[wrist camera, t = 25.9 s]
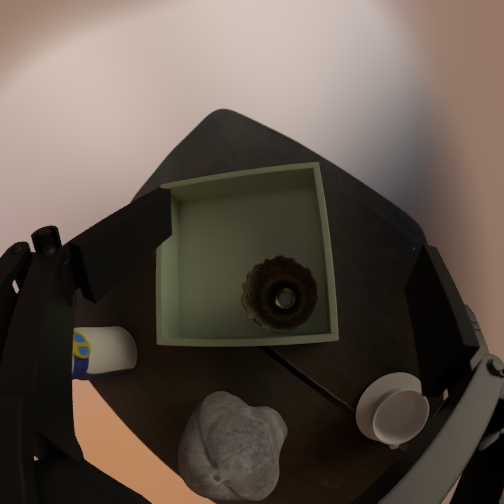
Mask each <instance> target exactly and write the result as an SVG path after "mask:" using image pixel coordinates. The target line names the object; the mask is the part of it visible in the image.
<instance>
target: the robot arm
mask: <svg viewBox="0 0 504 504" xmlns="http://www.w3.org/2000/svg"><path fill="white" fill-rule="evenodd" d="M171 235H172V217H171V189H166V188H157V189H155V190H153V191H152V192H150V193H148V194H146V195H144V196H142V197H141V198H139V199H137V200H135V201H134V202H132V203H130V204H128V205H127V206H125V207H123V208H121V209H120V210H118V211H116V212H115V213H113V214H111V215H110V216H108V217H106V218H105V219H103V220H101V221H100V222H98V223H96V224H95V225H93V226H92V227H90V228H89V229H87V230H85V231H84V232H82V233H81V234H79V235H78V236H76V237H75V238H73V239H72V240H70V241H69V242H67V243H66V244H65V245H63V246H62V244H61V240H60V235H59V231H58V228H57V227H56V226H46V227H42V228H40V229H38V230H36V231H35V232H34V233H33V234H32V235H31V238H32V241H33V245H34V248H35V251H36V252H31V250H30V247H29V244H28V243H27V242H17V243H15V244H14V245H12V246H11V247H10V248H8V249H7V251H6V252H5V253H4V254H3V255H2V257H1V258H0V504H152V503H151V502H149V501H148V500H147V499H146V498H144V497H143V496H142V495H140V494H138V493H137V492H135V491H133V490H132V489H130V488H128V487H126V486H125V485H123V484H122V483H120V482H118V481H117V480H115V479H113V478H112V477H110V476H109V475H107V474H105V473H104V472H102V471H101V470H99V469H98V468H96V467H95V466H93V465H92V464H90V463H89V462H87V461H86V460H85V459H84V457H83V452H82V450H81V447H80V445H79V443H78V441H77V439H76V436H75V431H74V419H73V401H72V355H73V336H74V323H75V313H76V304H77V294H76V290H77V289H78V288H79V287H80V288H81V291H82V294H83V297H84V298H85V299H87V300H89V301H91V302H93V303H95V304H96V303H97V302H98V301H99V300H100V299H101V298H102V297H103V296H104V295H105V294H106V293H107V292H108V291H109V290H110V289H111V288H112V287H114V286H115V285H116V284H117V283H118V282H119V281H120V280H121V279H122V278H123V277H124V276H126V275H127V274H128V273H129V272H130V271H131V270H132V269H133V268H134V267H136V266H137V265H138V264H139V263H140V262H141V261H142V260H144V259H145V258H146V257H147V256H148V255H149V254H150V253H152V252H153V251H154V250H155V249H156V248H157V247H159V246H160V245H161V244H162V243H163V242H164V241H166V240H167V239H168V238H169V237H170V236H171ZM14 280H15V281H16V283H17V286H18V288H19V291H18V293H16V292H15V290H14V288H13V285H12V283H13V281H14ZM404 291H405V295H406V299H407V304H408V308H409V313H410V318H411V323H412V328H413V334H414V339H415V345H416V352H417V358H418V366H419V373H420V382H421V392H422V396H426V397H439V396H440V395H441V394H442V393H443V392H444V391H445V390H446V389H447V390H448V397H447V398H446V399H445V400H444V401H443V402H442V403H441V404H440V405H439V406H438V407H437V408H436V409H435V410H434V411H433V413H434V415H433V417H432V418H431V419H430V421H429V422H428V423H427V425H426V426H425V427H424V428H423V430H422V431H421V432H420V433H419V435H418V436H417V437H416V438H415V440H414V441H413V442H412V443H411V444H410V445H409V447H408V448H407V449H406V450H405V451H404V452H403V453H402V454H401V456H400V457H399V458H398V459H397V460H396V461H395V462H394V463H393V464H392V465H391V466H390V467H389V468H388V469H387V470H386V471H385V472H384V473H383V474H382V475H381V476H380V477H379V478H378V479H377V480H376V481H375V482H374V483H373V484H372V485H371V486H370V487H369V488H367V489H366V490H365V491H364V492H363V493H362V494H361V495H359V496H358V497H357V498H356V499H355V500H354V501H352V502H351V503H350V504H441V503H442V501H443V500H444V498H445V497H446V496H447V494H448V493H449V492H450V490H451V489H452V487H453V486H454V484H455V483H456V481H457V480H458V478H459V477H460V475H461V474H462V475H461V478H460V480H459V482H458V485H457V488H456V490H455V492H454V495H453V497H452V499H451V501H450V503H449V504H504V364H503V362H502V361H501V360H500V359H499V358H498V357H497V356H495V355H493V354H489V351H488V348H487V345H486V342H485V340H484V337H483V334H482V332H481V331H480V330H481V329H480V327H479V325H478V324H477V323H478V322H477V320H476V317H475V315H474V313H473V312H472V310H471V309H470V308H469V307H468V305H465V304H464V303H463V301H462V299H461V297H460V294H459V292H458V290H457V288H456V285H455V283H454V281H453V279H452V277H451V275H450V273H449V271H448V269H447V267H446V265H445V264H444V261H443V259H442V257H441V256H440V254H439V252H438V250H437V248H436V247H433V246H430V245H426V244H423V245H422V248H421V250H420V253H419V256H418V258H417V261H416V263H415V265H414V268H413V270H412V273H411V275H410V277H409V280H408V282H407V284H406V286H405V289H404ZM34 456H36V457H37V458H38V459H39V460H36V461H34Z"/></svg>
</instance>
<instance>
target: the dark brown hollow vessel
mask: <svg viewBox="0 0 504 504" xmlns="http://www.w3.org/2000/svg"><path fill="white" fill-rule="evenodd" d="M242 288H243V290H244V291H243V294H242V296H241V303H242V305H243V307H244V308H245V310H246V315H247V317H248V318H249V319H253V320H254V321H255V322H256V323H257V324H259V325H260V326H261V328H262V329H264V330H266V331H272V332H275V333H284V332H288V331H290V330H292V329H293V330H295V329H298V328H299V327H300V325H301V324H304V323H305V322H307V321H308V320H309V319H310V317H311V315H312V314H313V312H314V309H315V307H316V305H315V304H316V303H317V300H318V295H317V290H318V286H317V281H316V279H315V278H314V276H313V275H312V273H311V270H310V269H309V268H308V267H306V268H305V267H304V266H302V265H301V264H300V263H298V262H296V261H295V259H294V258H287V257H285V256H283V255H278V256H276V257H275V258H273V259H270V258H266V259H265V260H264V262H263V264H262V263H260V264H258V265H255V266H254V267H253V269H252V270H251V271H249V272H248V274H247V282H245V283H243V284H242ZM284 292H287V293H289V294H290V295H291V296H292V301H291V303H290V304H289V305H286V306H284V305H282V304H280V302H279V296H280V295H281V294H282V293H284Z"/></svg>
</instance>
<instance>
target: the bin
mask: <svg viewBox="0 0 504 504" xmlns="http://www.w3.org/2000/svg"><path fill="white" fill-rule="evenodd" d="M161 188H166V189H171V217H172V235H171V236H170V237H169V238H168V239H167V240H166V241H164V242H163V243H162V244H161V245H160V246H159V247H157V254H156V329H157V345H172V346H216V347H225V346H269V345H289V344H304V343H317V342H328V341H338V322H337V306H336V293H335V281H334V271H333V261H332V251H331V243H330V234H329V227H328V219H327V212H326V205H325V198H324V192H323V185H322V179H321V173H320V168H319V162H313V163H302V164H292V165H283V166H274V167H266V168H258V169H250V170H243V171H236V172H229V173H223V174H217V175H211V176H205V177H199V178H193V179H188V180H182V181H177V182H172V183H167V184H162V185H161ZM278 255H283V256H285V257H287V258H294V259H295V261H296V262H298V263H300V264H301V265H302V266H304V267H305V268H306V267H308V268H309V269H310V270H311V273H312V275H313V276H314V278H315V279H316V281H317V286H318V290H317V295H318V300H317V303H316V304H315V305H316V307H315V309H314V312H313V314H312V315H311V317H310V319H309V320H308V321H307V322H305V323H304V324H301V325H300V327H299V328H298V329H295V330H293V329H292V330H290V331H288V332H284V333H275V332H272V331H266V330H264V329H262V328H261V326H260V325H259V324H257V323H256V322H255V321H254V320H253V319H249V318H248V317H247V315H246V310H245V308H244V307H243V305H242V303H241V296H242V294H243V291H244V290H243V288H242V284H243V283H245V282H247V274H248V272H249V271H251V270H252V269H253V267H254V266H255V265H258V264H260V263H262V264H263V262H264V260H265V259H266V258H270V259H273V258H275V257H276V256H278ZM291 301H292V296H291V295H290V294H289V293H287V292H284V293H282V294H281V295H280V296H279V302H280V304H282V305H284V306H286V305H289V304H290V303H291Z"/></svg>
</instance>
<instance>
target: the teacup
mask: <svg viewBox="0 0 504 504" xmlns="http://www.w3.org/2000/svg"><path fill="white" fill-rule="evenodd" d="M428 415H429V404H428V401H427V399H426V396H422V392H421V382H420V381H419V380H418V379H417V378H416V377H414V376H413V375H410V374H407V373H392V374H388V375H385V376H383V377H381V378H379V379H378V380H376V381H375V382H374V383H372V384H371V385H370V386H369V387H368V388H367V389H366V390H365V392H364V393H363V395H362V396H361V398H360V400H359V402H358V405H357V409H356V421H357V425H358V427H359V429H360V431H361V432H362V433H363V434H364V435H365V436H367V437H368V438H370V439H373V440H377V441H381V442H382V443H385V444H389V447H390V448H391V449H396V448H398V446H399V444H401V443H404V442H406V441H408V440H410V439H412V438H413V437H414V436H416V435H417V434H418V433H419V432H420V431H421V429H422V428H423V427H424V425H425V423H426V421H427V418H428Z"/></svg>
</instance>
